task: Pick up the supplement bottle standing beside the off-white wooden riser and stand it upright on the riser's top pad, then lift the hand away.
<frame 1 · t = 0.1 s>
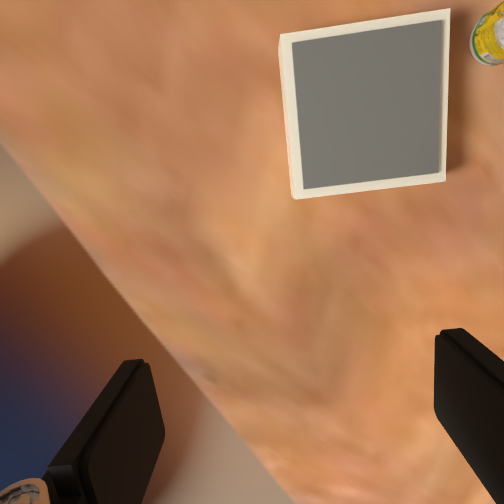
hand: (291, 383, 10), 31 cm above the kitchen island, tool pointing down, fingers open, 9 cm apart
supplement bottle: (491, 39, 35), on the kitchen island
riser: (354, 117, 37), on the kitchen island
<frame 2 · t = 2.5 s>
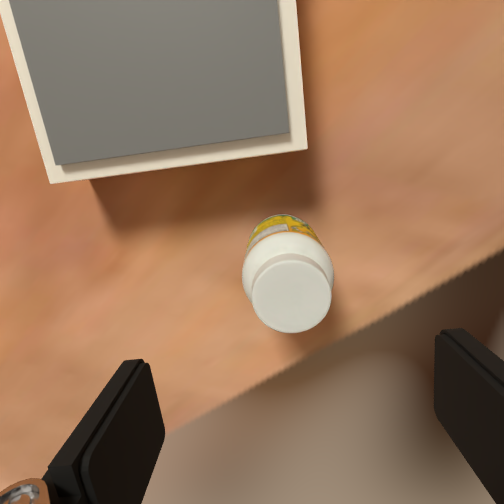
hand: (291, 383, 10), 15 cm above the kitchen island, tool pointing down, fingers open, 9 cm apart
supplement bottle: (282, 246, 25), on the kitchen island
riser: (170, 43, 22), on the kitchen island
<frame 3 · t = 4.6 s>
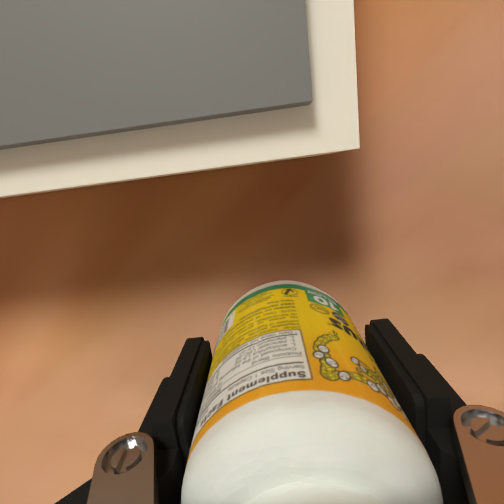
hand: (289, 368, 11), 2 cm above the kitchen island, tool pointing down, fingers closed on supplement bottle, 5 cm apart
supplement bottle: (285, 336, 13), on the kitchen island, touching gripper
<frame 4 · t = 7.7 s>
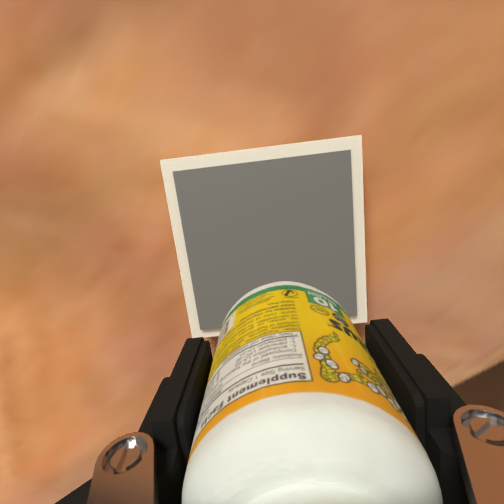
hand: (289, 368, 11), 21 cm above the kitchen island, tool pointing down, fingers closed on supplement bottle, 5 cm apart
supplement bottle: (285, 337, 13), point 19 cm above the kitchen island, touching gripper
riser: (268, 235, 32), on the kitchen island
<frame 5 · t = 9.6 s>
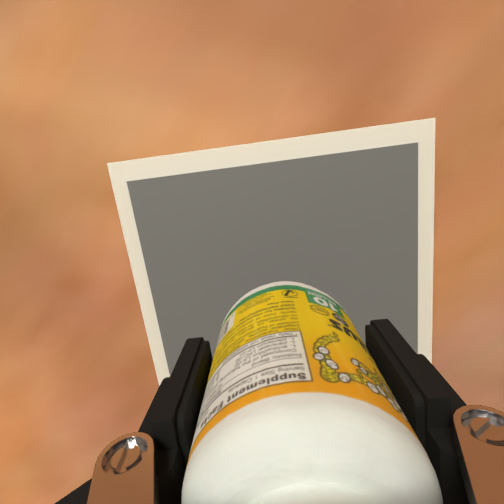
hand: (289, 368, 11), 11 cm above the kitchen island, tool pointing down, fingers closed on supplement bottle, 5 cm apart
supplement bottle: (285, 337, 13), point 9 cm above the kitchen island, touching gripper
riser: (278, 268, 22), on the kitchen island
when the fingers open (8 cm above the kitchen island, at t = 11.0 s): supplement bottle drops 1 cm, resting on riser.
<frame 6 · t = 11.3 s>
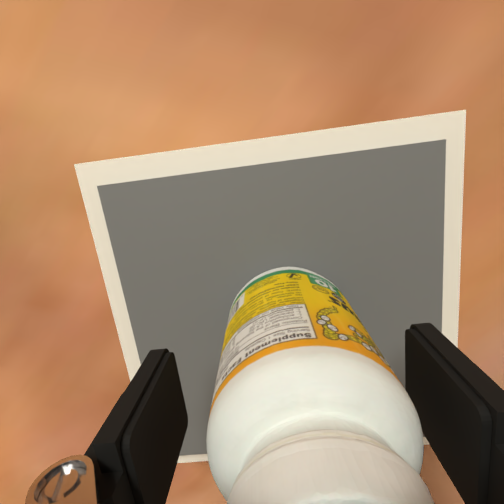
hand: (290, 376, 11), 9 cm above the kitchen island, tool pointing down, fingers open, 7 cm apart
supplement bottle: (288, 318, 15), point 5 cm above the kitchen island, touching riser
riser: (278, 283, 19), on the kitchen island
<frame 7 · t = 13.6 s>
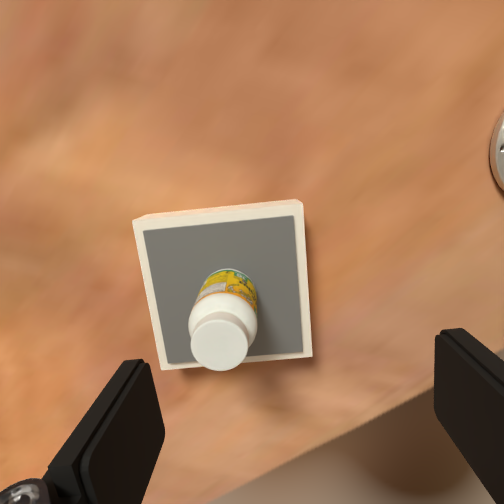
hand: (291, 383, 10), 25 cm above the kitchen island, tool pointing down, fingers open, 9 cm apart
supplement bottle: (229, 292, 32), point 5 cm above the kitchen island, touching riser
riser: (230, 277, 36), on the kitchen island
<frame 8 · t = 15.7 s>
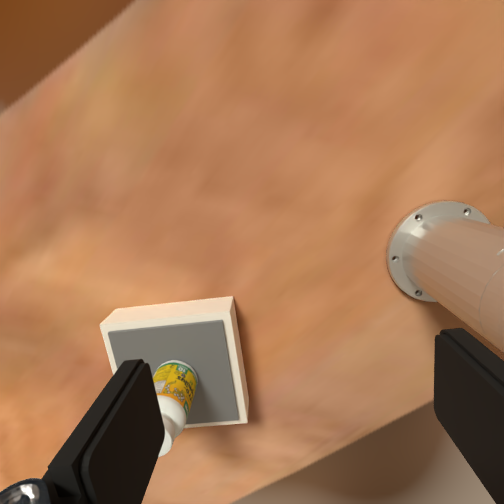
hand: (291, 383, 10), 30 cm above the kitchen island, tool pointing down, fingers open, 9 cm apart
supplement bottle: (177, 376, 40), point 5 cm above the kitchen island, touching riser
riser: (184, 355, 45), on the kitchen island
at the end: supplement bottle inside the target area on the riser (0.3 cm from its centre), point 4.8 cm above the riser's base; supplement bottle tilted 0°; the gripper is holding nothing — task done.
